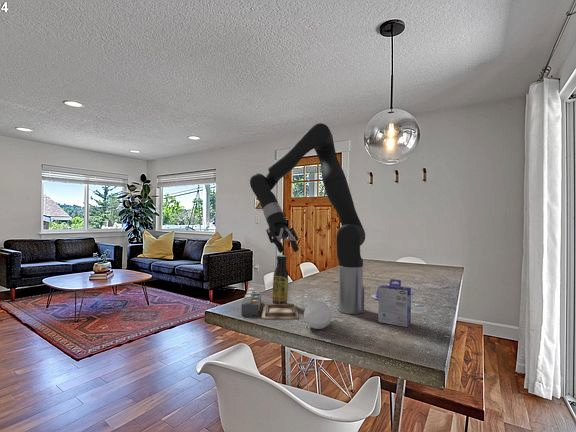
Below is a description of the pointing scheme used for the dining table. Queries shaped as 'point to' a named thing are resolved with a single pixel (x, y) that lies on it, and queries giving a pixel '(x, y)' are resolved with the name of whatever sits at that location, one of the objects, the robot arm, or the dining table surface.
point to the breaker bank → (251, 303)
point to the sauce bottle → (280, 281)
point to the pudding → (376, 294)
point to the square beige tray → (280, 311)
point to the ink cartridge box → (394, 304)
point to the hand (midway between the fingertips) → (289, 251)
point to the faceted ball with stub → (317, 315)
